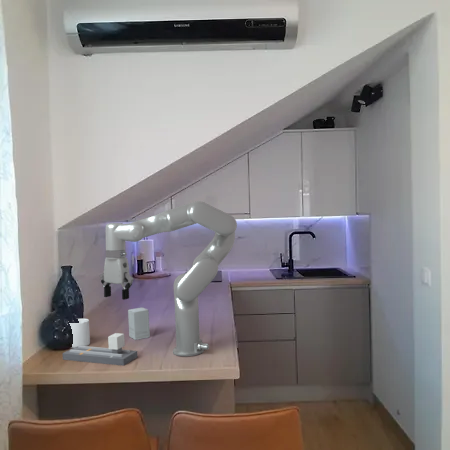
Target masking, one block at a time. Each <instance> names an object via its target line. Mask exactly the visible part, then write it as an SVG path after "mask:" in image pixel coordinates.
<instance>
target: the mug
mask: <svg viewBox="0 0 450 450" xmlns="http://www.w3.org/2000/svg"><path fill="white" fill-rule="evenodd" d="M77 319H78V321H79V323H69V324H70V326H71V329H72V334H73V344H72V347H71V349H73V348H75V347H77V346H89V345H90V344H91V337H90V336H91V335H90V319H88V318H77Z"/></svg>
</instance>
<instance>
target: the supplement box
mask: <svg viewBox="0 0 450 450" xmlns="http://www.w3.org/2000/svg"><path fill="white" fill-rule="evenodd" d="M149 316H150V312H149V309H148V308H146V307H145V308H144V307H137V308H131V309H128V310H127V317H128V318H127V320H128V335H129V336H128V337H129V338H131V339H133V340H134V341H137V340H142V339H147V338H150V337H151V332H150V317H149Z"/></svg>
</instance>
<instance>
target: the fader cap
mask: <svg viewBox="0 0 450 450" xmlns="http://www.w3.org/2000/svg"><path fill="white" fill-rule="evenodd" d="M107 340H108V341H107V343H108V348H109V349H112V353H114V354H119V353H121V352H122V349H123V347H126V345H125V344H126V343H125V333H118V332H114V333H113V334H110V335H109V336H108V337H107Z"/></svg>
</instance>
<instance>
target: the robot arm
mask: <svg viewBox="0 0 450 450" xmlns="http://www.w3.org/2000/svg"><path fill="white" fill-rule="evenodd" d="M197 224H198V225H199V226H201V227H203V228H206V229H208V230H210V231H212V232H214V236H213V238H212V240H211V241H210V242H209V243H208V244H207V246H205V248H204V249H203V250H202V251H201V252H200V254H198V255H197V256H196V257H195V258H194V259H193V262H192V266H191V267H190V268H189V269H188V270H187V271H186V273H181V274H179V275H178V276H176V277H175V279H174V282H173V296H174V297H173V299H174V317H175V318H174V320H175V340H176V341H175V345H176V346H175V347H174V348H173V349H172V354H173V355H174V356H178V357H194V356H198V355H200V354H203V353H204V352H205V351H207V350H208V351H209V349H210V345H209V343H205V342H203V339H200V337H201V336H200V334H201V333H200V332H201V331H200V317H199V315H200V311H199V309H200V308H199V296H200V295H201V294H202V293H203V292H204V291H205V289H206V288H207V287H208V286H209V285H210V284H211V283H212V282H213V280H214V279H215V278H216V277H217V275H218V271H219V265H220V264H221V263H222V262H223V260H224V259H225V258H226V257H227V256H228V255H229V253H230V252H231V250H232V248H233V247H234V244H235V241H236V231H237V228H238V224H237V220H236V218H235V217H234V216H233V215H231V214H229V213H227V212H225V211H223V210H220V209H218V208H216V207H214V206H212V205H210V204H208V203H206V202H205V201H201V200H200V201H199V200H198V201H193V202H190V203H187V204H184V205H180V206H177V207H174V208H171V209H168V210H165V211H162V212H160V213H158V214H155V215H154V214H153V215H152V216H148V217H145V218H143V219H139V220H135V221H133V222H129V223H123V222H109V223H107V224H106V225H105V259H104V266H103V272H102V273H101V274H99V278H100V279H99V280H100V282H101V285H102V287H103V297H104V298H108V297H111V296H112V287H111V284H114V285H115V284H116V285H120V286H121V287H122V289H121V297H122V298H121V299H122V300H123V301H125V300H127V299H128V300H129V299H130V289H131V287H132V286H133V282H134V277H133V276H132V275H130V265H129V260H128V257H126V256H127V254H128V253H127V252H126V242H131V243H133V242H134V243H137V242H140V241H141V240H142V239H145V238H147V237H150V236H154V235H158V234H161V233H170V232H175V231H178V230H180V229H184V228H187V227H189V226H194V225H197Z"/></svg>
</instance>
